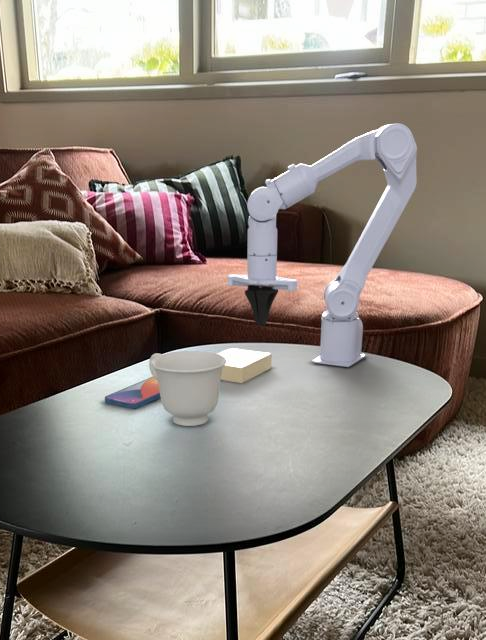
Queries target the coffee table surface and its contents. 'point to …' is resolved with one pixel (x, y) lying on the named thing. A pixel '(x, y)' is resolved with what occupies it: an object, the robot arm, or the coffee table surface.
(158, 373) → the teacup
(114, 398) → the smartphone
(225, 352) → the book
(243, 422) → the coffee table surface
